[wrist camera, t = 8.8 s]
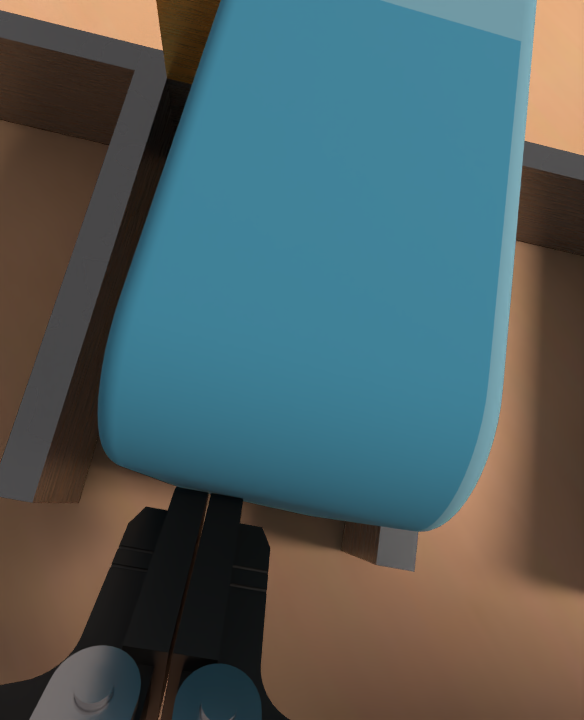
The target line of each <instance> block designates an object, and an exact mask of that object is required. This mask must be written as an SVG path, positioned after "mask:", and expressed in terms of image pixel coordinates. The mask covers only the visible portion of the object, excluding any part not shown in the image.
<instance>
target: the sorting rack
mask: <svg viewBox="0 0 584 720" xmlns="http://www.w3.org/2000/svg"><path fill="white" fill-rule="evenodd" d="M220 1H221V0H156V2H157V10H158V17H159V24H160V32H161V39H162V46H163V51H162V50H158V49H154V48H150V47H146V46H142V45H138V44H134V43H130V42H126V41H122V40H118V39H114V38H109V37H105V36H101V35H97V34H93V33H89V32H85V31H81V30H77V29H73V28H69V27H65V26H61V25H57V24H53V23H49V22H45V21H41V20H37V19H33V18H29V17H25V16H21V15H17V14H13V13H9V12H5V11H1V10H0V119H1V120H6V121H10V122H14V123H19V124H23V125H27V126H31V127H36V128H40V129H44V130H48V131H53V132H57V133H61V134H66V135H70V136H74V137H78V138H83V139H87V140H91V141H95V142H100V143H104V144H108V145H109V148H108V151H107V153H106V156H105V159H104V162H103V165H102V168H101V171H100V174H99V177H98V180H97V183H96V186H95V188H94V191H93V194H92V197H91V200H90V203H89V206H88V209H87V212H86V215H85V218H84V221H83V224H82V226H81V229H80V232H79V235H78V238H77V241H76V244H75V247H74V250H73V253H72V256H71V259H70V262H69V264H68V267H67V270H66V273H65V276H64V279H63V282H62V285H61V288H60V291H59V294H58V297H57V299H56V302H55V305H54V308H53V311H52V314H51V317H50V320H49V323H48V326H47V329H46V332H45V335H44V337H43V340H42V343H41V346H40V349H39V352H38V355H37V358H36V361H35V364H34V367H33V370H32V373H31V375H30V378H29V381H28V384H27V387H26V390H25V393H24V396H23V399H22V402H21V405H20V408H19V410H18V413H17V416H16V419H15V422H14V425H13V428H12V431H11V434H10V437H9V440H8V443H7V446H6V448H5V451H4V454H3V457H2V460H1V463H0V497H3V498H9V499H15V500H20V501H26V502H31V503H79V500H80V497H81V493H82V490H83V486H84V483H85V479H86V476H87V473H88V469H89V466H90V462H91V459H92V455H93V452H94V448H95V445H96V442H97V438H98V435H99V429H98V396H99V386H100V378H101V371H102V365H103V360H104V354H105V349H106V345H107V340H108V336H109V332H110V328H111V325H112V321H113V317H114V314H115V311H116V308H117V304H118V301H119V298H120V295H121V292H122V289H123V286H124V283H125V280H126V278H127V275H128V272H129V269H130V266H131V263H132V260H133V257H134V254H135V251H136V248H137V245H138V242H139V239H140V236H141V233H142V230H143V227H144V225H145V222H146V219H147V216H148V213H149V210H150V207H151V204H152V201H153V198H154V195H155V192H156V189H157V186H158V183H159V180H160V177H161V175H162V172H163V169H164V166H165V163H166V160H167V157H168V154H169V151H170V148H171V145H172V142H173V139H174V136H175V133H176V130H177V127H178V125H179V122H180V119H181V116H182V113H183V110H184V107H185V104H186V101H187V98H188V95H189V92H190V89H191V86H192V83H193V80H194V77H195V75H196V72H197V69H198V66H199V63H200V60H201V57H202V54H203V51H204V48H205V45H206V42H207V39H208V36H209V33H210V30H211V27H212V24H213V22H214V19H215V16H216V13H217V10H218V7H219V4H220ZM516 240H519V241H523V242H527V243H532V244H536V245H540V246H544V247H549V248H553V249H557V250H562V251H566V252H570V253H574V254H579V255H583V256H584V156H583V155H579V154H575V153H571V152H567V151H563V150H559V149H555V148H551V147H547V146H543V145H539V144H535V143H531V142H527V141H524V151H523V163H522V174H521V186H520V197H519V209H518V220H517V232H516ZM417 540H418V532H416V531H409V530H402V529H395V528H389V527H382V526H375V525H368V524H362V523H355V522H348V521H345V526H344V533H343V540H342V547H341V551H343V552H346V553H348V554H351V555H353V556H356V557H358V558H361V559H363V560H366V561H368V562H370V563H373V564H375V565H380V566H386V567H391V568H397V569H402V570H408V571H413V572H414V571H415V560H416V550H417Z"/></svg>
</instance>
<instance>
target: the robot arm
mask: <svg viewBox="0 0 584 720" xmlns="http://www.w3.org/2000/svg"><path fill="white" fill-rule="evenodd" d="M208 494H209V492H203V491H198V490H192V489H187V488H182V487H176V488H175V490H174V493H173V496H172V499H171V502H170V505H169V508H168V511H167V510H162V509H156V508H151V507H145V508H144V509H143V510H142V511H141V512H140V513H139V514H138V515H137V516H136V517H135V518H134V519H133V520H132V521H130V522H129V523H128V526H127V528H126V531H125V533H124V535H123V538H122V540H121V543H120V545H119V549H118V550H117V552H116V555H115V557H114V559H113V562H112V566H111V568H110V569H109V571H108V574H107V576H106V579H105V581H104V583H103V586H102V588H101V591H100V593H99V595H98V598H97V600H96V603H95V605H94V608H93V610H92V612H91V615H90V617H89V620H88V622H87V624H86V627H85V629H84V632H83V634H82V636H81V638H80V640H79V642H78V644H77V646H76V647H75V648H74V650H73V651H72V652H71V654H70V655H69V656H68V657H67V658H66V659H65V660H64V661H63V662H61V663H60V664H59V665H58V666H56V667H55V668H53V669H52V670H50V671H48V672H47V673H45V674H43V675H41V676H38V677H35V678H33V679H29V680H25V681H21V682H15V683H10V684H4V685H0V720H158V717H159V713H160V709H161V705H162V700H163V696H164V692H165V688H166V684H167V689H166V695H165V700H164V706H163V712H162V717H161V720H289V719H288V718H286V717H285V716H284V715H283V714H281V713H280V712H279V711H278V710H277V709H276V707H275V706H274V705H273V704H272V702H271V701H270V699H269V698H268V696H267V694H266V691H265V689H264V686H263V683H262V678H261V654H262V642H263V630H264V617H265V605H266V590H267V581H268V568H269V556H270V546H269V544H268V541H267V538H266V536H265V533H264V530H263V528H262V527H258V526H252V525H247V524H241V523H240V518H241V512H242V505H243V499H242V498H237V497H232V496H226V495H221V494H215V493H211V496H210V500H209V505H208V509H207V513H206V517H205V521H204V516H205V511H206V506H207V500H208ZM203 522H204V525H203ZM202 527H203V530H202ZM201 532H202V534H201ZM169 671H170V672H169ZM168 675H169V678H168ZM167 679H168V683H167Z"/></svg>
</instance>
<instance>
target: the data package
mask: <svg viewBox="0 0 584 720" xmlns="http://www.w3.org/2000/svg"><path fill="white" fill-rule="evenodd" d="M536 2H537V0H221V1H220V4H219V7H218V10H217V13H216V16H215V19H214V22H213V24H212V27H211V30H210V33H209V36H208V39H207V42H206V45H205V48H204V51H203V54H202V57H201V60H200V63H199V66H198V69H197V72H196V75H195V77H194V80H193V83H192V86H191V89H190V92H189V95H188V98H187V101H186V104H185V107H184V110H183V113H182V116H181V119H180V122H179V125H178V127H177V130H176V133H175V136H174V139H173V142H172V145H171V148H170V151H169V154H168V157H167V160H166V163H165V166H164V169H163V172H162V175H161V177H160V180H159V183H158V186H157V189H156V192H155V195H154V198H153V201H152V204H151V207H150V210H149V213H148V216H147V219H146V222H145V225H144V227H143V230H142V233H141V236H140V239H139V242H138V245H137V248H136V251H135V254H134V257H133V260H132V263H131V266H130V269H129V272H128V275H127V278H126V280H125V283H124V286H123V289H122V292H121V295H120V298H119V301H118V304H117V308H116V311H115V314H114V317H113V321H112V325H111V328H110V332H109V336H108V340H107V345H106V349H105V354H104V360H103V365H102V371H101V378H100V386H99V396H98V429H99V437H100V440H101V444H102V447H103V449H104V451H105V453H106V455H107V456H108V458H109V459H110V460H112V461H113V462H114V463H116V464H117V465H119V466H122V467H124V468H127V469H130V470H133V471H136V472H138V473H141V474H144V475H147V476H149V477H152V478H155V479H158V480H161V481H163V482H166V483H169V484H172V485H175V486H177V487H182V488H187V489H192V490H198V491H203V492H209V494H211V493H215V494H221V495H226V496H232V497H237V498H242V499H243V501H245V502H249V503H254V504H258V505H263V506H267V507H272V508H276V509H281V510H285V511H290V512H295V513H299V514H304V515H308V516H314V517H321V518H328V519H335V520H341V521H348V522H355V523H362V524H368V525H375V526H382V527H389V528H395V529H402V530H409V531H416V532H421V531H430V530H432V529H435V528H438V527H440V526H441V525H443V524H444V523H446V522H447V521H449V520H450V519H451V518H452V517H453V516H454V515H455V514H456V513H457V512H458V511H459V510H460V508H461V507H462V506H463V505H464V503H465V502H466V501H467V499H468V498H469V496H470V494H471V493H472V491H473V489H474V488H475V486H476V484H477V482H478V480H479V478H480V476H481V474H482V471H483V469H484V466H485V464H486V461H487V459H488V456H489V453H490V450H491V447H492V444H493V440H494V436H495V432H496V428H497V424H498V419H499V414H500V408H501V400H502V392H503V382H504V370H505V359H506V347H507V336H508V324H509V313H510V301H511V290H512V278H513V266H514V255H515V243H516V232H517V220H518V209H519V197H520V186H521V174H522V163H523V151H524V140H525V128H526V117H527V105H528V94H529V82H530V71H531V59H532V48H533V36H534V25H535V13H536Z"/></svg>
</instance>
